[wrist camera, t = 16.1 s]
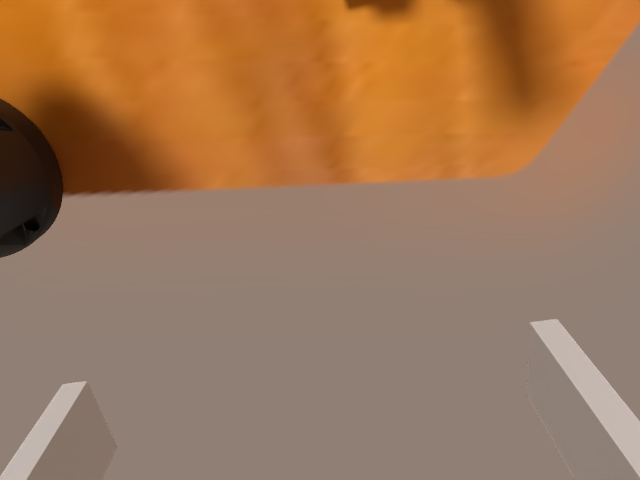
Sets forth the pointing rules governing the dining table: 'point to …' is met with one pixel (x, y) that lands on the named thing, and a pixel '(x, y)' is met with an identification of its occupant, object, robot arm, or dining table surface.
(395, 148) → the dining table surface
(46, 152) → the robot arm
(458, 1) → the dining table surface
